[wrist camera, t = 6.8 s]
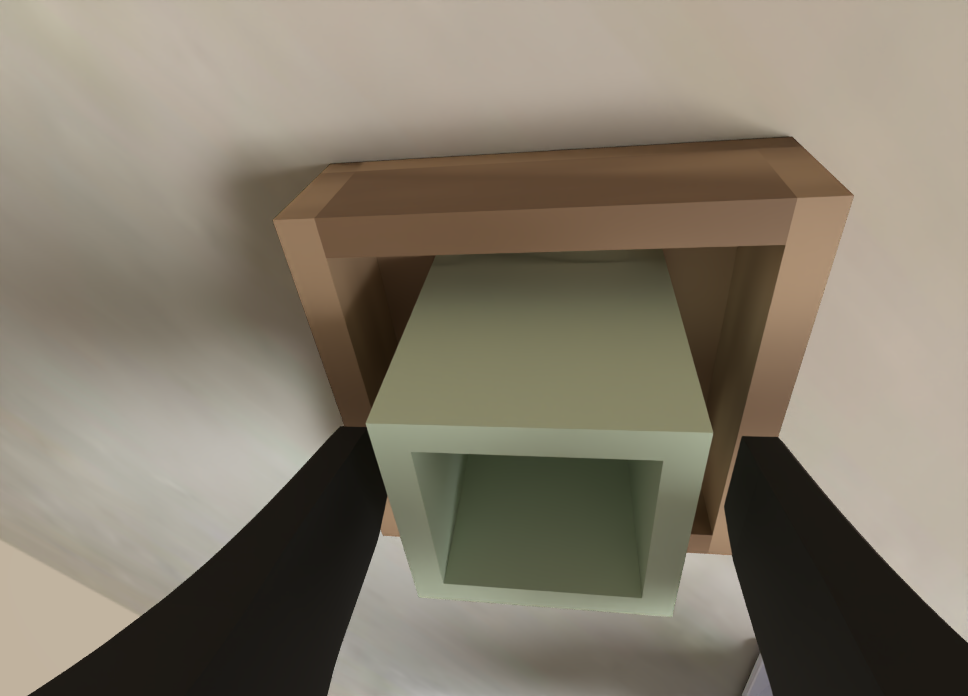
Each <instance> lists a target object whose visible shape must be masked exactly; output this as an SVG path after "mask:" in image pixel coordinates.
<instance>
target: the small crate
mask: <svg viewBox="0 0 968 696" xmlns="http://www.w3.org/2000/svg"><path fill="white" fill-rule="evenodd" d="M366 427H367V430H368V433H369V436H370V440H371V443H372V446H373V449H374V453H375V456H376V459H377V463H378V466H379V469H380V472H381V476H382V479H383V482H384V485H385V489H386V492H387V495H388V498H389V502H390V505H391V508H392V511H393V515H394V518H395V521H396V524H397V528H398V531H399V534H400V538H401V541H402V544H403V547H404V551H405V554H406V557H407V560H408V564H409V567H410V570H411V573H412V577H413V580H414V583H415V586H416V590H417V593H418V596H419V597H420V598H433V599H445V600H458V601H471V602H484V603H497V604H510V605H523V606H535V607H548V608H561V609H574V610H587V611H600V612H612V613H625V614H638V615H651V616H664V617H672V615H673V611H674V606H675V602H676V597H677V593H678V588H679V584H680V579H681V575H682V570H683V566H684V562H685V557H686V553H687V548H688V544H689V539H690V535H691V530H692V526H693V521H694V517H695V513H696V508H697V504H698V499H699V495H700V490H701V486H702V481H703V477H704V472H705V468H706V464H707V459H708V455H709V450H710V446H711V441H712V437H713V430H712V426H711V422H710V419H709V415H708V412H707V408H706V405H705V401H704V397H703V394H702V390H701V387H700V383H699V379H698V376H697V372H696V369H695V365H694V361H693V358H692V354H691V351H690V347H689V343H688V340H687V336H686V333H685V329H684V325H683V322H682V318H681V315H680V311H679V308H678V304H677V300H676V297H675V293H674V290H673V286H672V282H671V279H670V275H669V272H668V268H667V264H666V261H665V257H664V254H663V250H662V249H629V250H595V251H562V252H528V253H494V254H460V255H436V256H435V258H434V261H433V263H432V266H431V268H430V270H429V273H428V275H427V278H426V280H425V282H424V285H423V287H422V289H421V292H420V294H419V297H418V299H417V301H416V304H415V306H414V309H413V311H412V313H411V316H410V318H409V321H408V323H407V325H406V328H405V330H404V333H403V335H402V337H401V340H400V342H399V344H398V347H397V349H396V352H395V354H394V356H393V359H392V361H391V364H390V366H389V368H388V371H387V373H386V376H385V378H384V380H383V383H382V385H381V388H380V390H379V392H378V395H377V397H376V399H375V402H374V404H373V407H372V409H371V411H370V414H369V416H368V419H367V421H366Z"/></svg>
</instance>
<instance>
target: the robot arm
mask: <svg viewBox="0 0 968 696" xmlns="http://www.w3.org/2000/svg"><path fill="white" fill-rule="evenodd" d="M387 496H388V495H387V492H386V489H385V485H384V482H383V479H382V476H381V472H380V469H379V466H378V463H377V459H376V456H375V453H374V449H373V446H372V443H371V440H370V436H369V433H368V430H367V427H347V426H340V427H339V428H338V429H337V430H336V431H335V432H334V433H333V434H332V435H331V436H330V438H329V439H328V440H327V441H326V442H325V443H324V444H323V445H322V446H321V447H320V448H319V449H318V451H317V452H316V453H315V454H314V455H313V456H312V457H311V458H310V459H309V460H308V461H307V463H306V464H305V465H304V466H303V467H302V468H301V469H300V470H299V471H298V472H297V473H296V474H295V475H294V477H293V478H292V479H291V480H290V481H289V482H288V483H287V484H286V485H285V486H284V487H283V488H282V489H281V490H280V491H279V492H278V493H277V494H276V495H275V497H274V498H273V499H272V500H271V501H270V502H269V503H268V504H267V505H266V506H265V507H264V508H263V509H262V510H261V511H260V512H259V513H258V514H257V515H256V516H255V517H254V518H253V519H252V520H251V521H250V522H249V523H248V524H247V525H246V526H245V527H244V528H243V529H242V530H241V531H240V532H239V533H237V534H236V535H235V536H234V537H233V538H232V539H231V540H230V541H229V542H228V543H227V544H226V545H225V546H224V547H223V548H222V549H221V550H220V551H219V552H218V553H216V554H215V555H214V556H213V557H212V558H211V559H210V560H209V561H208V562H206V563H205V564H204V565H203V566H202V567H201V568H200V569H199V570H197V571H196V572H195V573H194V574H193V575H192V576H190V577H189V578H188V579H187V580H186V581H184V582H183V583H182V584H181V585H180V586H178V587H177V588H176V589H175V590H174V591H173V592H171V593H170V594H169V595H168V596H166V597H165V598H164V599H163V600H161V601H160V602H159V603H158V604H156V605H155V606H154V607H152V608H151V609H150V610H148V611H147V612H146V613H144V614H143V615H142V616H140V617H139V618H138V619H136V620H135V621H134V622H133V623H131V624H130V625H128V626H127V627H126V628H125V629H123V630H122V631H121V632H119V633H118V634H117V635H115V636H114V637H113V638H111V639H110V640H109V641H107V642H106V643H105V644H103V645H102V646H101V647H99V648H98V649H96V650H95V651H94V652H92V653H91V654H89V655H88V656H86V657H85V658H83V659H82V660H80V661H79V662H78V663H76V664H75V665H73V666H72V667H70V668H69V669H67V670H66V671H64V672H63V673H61V674H60V675H58V676H57V677H55V678H54V679H52V680H51V681H49V682H48V683H46V684H45V685H43V686H42V687H40V688H39V689H37V690H36V691H34V692H33V693H31V694H29V695H28V696H327V694H328V690H329V686H330V682H331V678H332V674H333V670H334V667H335V664H336V660H337V657H338V654H339V651H340V647H341V644H342V641H343V639H344V636H345V633H346V630H347V627H348V624H349V622H350V619H351V616H352V613H353V610H354V607H355V604H356V602H357V599H358V596H359V593H360V590H361V587H362V585H363V582H364V579H365V576H366V573H367V570H368V567H369V564H370V562H371V559H372V556H373V553H374V550H375V547H376V544H377V541H378V537H379V533H380V529H381V524H382V520H383V516H384V511H385V506H386V501H387ZM724 511H725V517H726V523H727V529H728V536H729V541H730V547H731V552H732V557H733V562H734V565H735V569H736V572H737V576H738V579H739V582H740V586H741V589H742V593H743V596H744V599H745V603H746V606H747V610H748V613H749V616H750V620H751V623H752V626H753V630H754V633H755V636H756V640H757V643H758V646H759V650H760V654H759V656H758V659H757V661H756V663H755V666H754V668H753V670H752V673H751V675H750V677H749V680H748V682H747V684H746V687H745V689H744V691H743V694H742V696H968V643H967V642H966V641H965V640H964V639H963V638H962V637H961V636H960V635H959V634H958V633H956V632H955V631H954V630H953V629H952V628H951V627H950V626H949V625H948V624H947V623H946V622H945V621H944V620H943V619H942V618H941V617H940V616H939V615H938V614H937V613H936V612H935V611H934V610H933V609H932V608H931V607H930V606H928V605H927V604H926V603H925V602H924V601H923V600H922V599H921V598H920V597H919V596H918V595H917V593H916V592H915V591H914V590H913V589H912V588H911V587H910V586H909V585H908V584H907V583H906V582H905V581H904V580H903V579H902V578H901V577H900V576H899V575H898V574H897V573H896V572H895V571H894V570H893V569H892V568H891V567H890V566H889V565H888V564H887V563H886V561H885V560H884V559H883V558H882V557H881V556H880V555H879V554H878V553H877V552H876V551H875V550H874V549H873V547H872V546H871V545H870V544H869V543H868V542H867V541H866V540H865V539H864V537H863V536H862V535H861V534H860V533H859V532H858V531H857V530H856V529H855V527H854V526H853V525H852V524H851V523H850V522H849V521H848V520H847V519H846V517H845V516H844V515H843V514H842V513H841V512H840V511H839V509H838V508H837V507H836V506H835V505H834V504H833V502H832V501H831V500H830V499H829V498H828V497H827V495H826V494H825V493H824V492H823V491H822V489H821V488H820V487H819V486H818V485H817V483H816V482H815V481H814V480H813V479H812V477H811V476H810V475H809V474H808V473H807V471H806V470H805V469H804V468H803V466H802V465H801V464H800V463H799V461H798V460H797V459H796V458H795V457H794V455H793V454H792V453H791V452H790V450H789V449H788V448H787V447H786V445H785V444H784V443H783V442H782V441H781V440H780V439H779V438H778V437H761V436H742V437H741V441H740V445H739V449H738V453H737V457H736V461H735V465H734V469H733V472H732V476H731V480H730V484H729V488H728V492H727V496H726V500H725V504H724Z"/></svg>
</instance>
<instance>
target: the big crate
mask: <svg viewBox="0 0 968 696" xmlns="http://www.w3.org/2000/svg"><path fill="white" fill-rule="evenodd" d="M853 197H854V195H853V194H852V193H851V192H850V191H849V190H848V189H847V188H846V187H845V186H843V185H842V184H841V183H840V182H839V181H838V180H837V179H836V178H835V177H834V176H833V175H832V174H831V173H830V172H829V171H828V170H827V169H826V168H825V167H824V166H822V165H821V164H820V163H819V162H818V161H817V160H816V159H815V158H814V157H813V156H812V155H811V154H810V153H809V152H808V151H807V150H806V149H805V148H804V147H803V146H801V145H800V144H799V143H798V142H797V141H796V140H795V139H794V138H793V137H779V138H762V139H745V140H728V141H711V142H694V143H677V144H660V145H643V146H626V147H609V148H592V149H575V150H558V151H541V152H524V153H507V154H490V155H473V156H456V157H439V158H422V159H405V160H388V161H371V162H354V163H337V164H330V165H329V166H328V167H327V168H326V169H325V170H324V171H322V172H321V173H320V174H319V175H318V176H317V177H316V178H315V179H314V180H313V181H312V182H311V183H310V184H309V185H308V186H307V187H306V188H305V189H304V190H303V191H302V192H301V193H300V194H299V195H298V196H297V197H296V198H295V199H294V200H293V201H292V202H291V203H290V204H289V205H288V206H287V207H286V208H285V209H283V210H282V211H281V212H280V213H279V214H278V215H277V216H276V217H275V218H274V219H273V223H274V225H275V228H276V231H277V234H278V237H279V240H280V243H281V245H282V248H283V251H284V254H285V257H286V260H287V263H288V266H289V268H290V271H291V274H292V277H293V280H294V283H295V286H296V288H297V291H298V294H299V297H300V300H301V303H302V306H303V308H304V311H305V314H306V317H307V320H308V323H309V326H310V328H311V331H312V334H313V337H314V340H315V343H316V346H317V348H318V351H319V354H320V357H321V360H322V363H323V366H324V369H325V371H326V374H327V377H328V380H329V383H330V386H331V389H332V391H333V394H334V397H335V400H336V403H337V406H338V409H339V411H340V414H341V417H342V420H343V423H344V426H347V427H366V421H367V419H368V416H369V414H370V411H371V409H372V407H373V404H374V402H375V399H376V397H377V395H378V392H379V390H380V388H381V385H382V383H383V380H384V378H385V376H386V373H387V371H388V368H389V366H390V364H391V361H392V359H393V356H394V354H395V352H396V349H397V347H398V344H399V342H400V340H401V337H402V335H403V333H404V330H405V328H406V325H407V323H408V321H409V318H410V316H411V313H412V311H413V309H414V306H415V304H416V301H417V299H418V297H419V294H420V292H421V289H422V287H423V285H424V282H425V280H426V278H427V275H428V273H429V270H430V268H431V266H432V263H433V261H434V258H435V256H436V255H460V254H494V253H528V252H562V251H595V250H629V249H662V250H663V254H664V257H665V261H666V264H667V268H668V272H669V275H670V279H671V282H672V286H673V290H674V293H675V297H676V300H677V304H678V308H679V311H680V315H681V318H682V322H683V325H684V329H685V333H686V336H687V340H688V343H689V347H690V351H691V354H692V358H693V361H694V365H695V369H696V372H697V376H698V379H699V383H700V387H701V390H702V394H703V397H704V401H705V405H706V408H707V412H708V415H709V419H710V422H711V426H712V430H713V437H712V441H711V446H710V450H709V455H708V459H707V464H706V468H705V472H704V477H703V481H702V486H701V490H700V495H699V499H698V504H697V508H696V513H695V517H694V521H693V526H692V530H691V535H690V539H689V544H688V548H687V553H704V554H722V555H732V552H731V547H730V541H729V536H728V529H727V523H726V517H725V511H724V504H725V500H726V496H727V492H728V488H729V484H730V480H731V476H732V472H733V469H734V465H735V461H736V457H737V453H738V449H739V445H740V441H741V437H742V436H761V437H778V436H779V433H780V429H781V426H782V423H783V420H784V417H785V413H786V410H787V407H788V404H789V401H790V398H791V394H792V391H793V388H794V385H795V382H796V379H797V375H798V372H799V369H800V366H801V363H802V359H803V356H804V353H805V350H806V347H807V344H808V340H809V337H810V334H811V331H812V328H813V325H814V321H815V318H816V315H817V312H818V309H819V305H820V302H821V299H822V296H823V293H824V290H825V286H826V283H827V280H828V277H829V274H830V270H831V267H832V264H833V261H834V258H835V255H836V251H837V248H838V245H839V242H840V239H841V236H842V232H843V229H844V226H845V223H846V220H847V216H848V213H849V210H850V207H851V204H852V201H853ZM381 532H382V534H383V536H399V537H400V534H399V531H398V528H397V524H396V521H395V518H394V515H393V511H392V508H391V505H390V502H389V498H388V496H387V501H386V506H385V511H384V516H383V520H382V524H381Z"/></svg>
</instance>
